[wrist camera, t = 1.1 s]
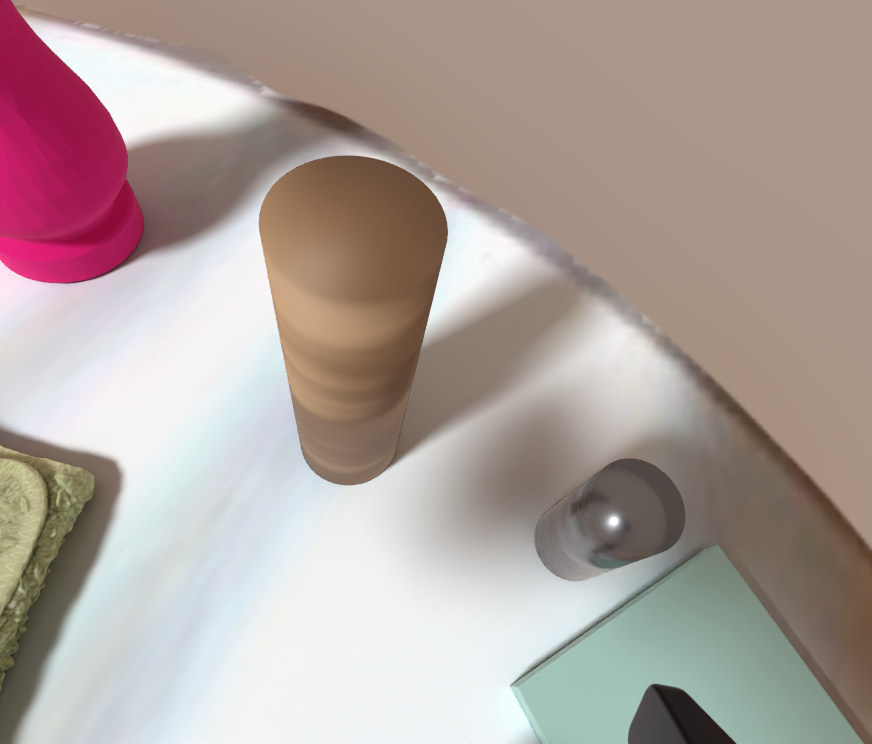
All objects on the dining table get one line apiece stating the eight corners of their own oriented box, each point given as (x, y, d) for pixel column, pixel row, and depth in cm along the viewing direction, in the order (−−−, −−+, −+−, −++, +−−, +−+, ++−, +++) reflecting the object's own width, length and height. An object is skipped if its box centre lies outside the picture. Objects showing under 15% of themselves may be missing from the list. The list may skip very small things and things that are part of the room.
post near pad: (562, 595, 22) (633, 573, 16) (520, 526, 23) (574, 484, 17) (620, 557, 23) (703, 525, 17) (577, 492, 24) (644, 443, 18)
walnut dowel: (325, 502, 22) (306, 327, 11) (285, 418, 23) (229, 182, 12) (414, 458, 23) (481, 261, 12) (371, 381, 25) (394, 138, 13)
